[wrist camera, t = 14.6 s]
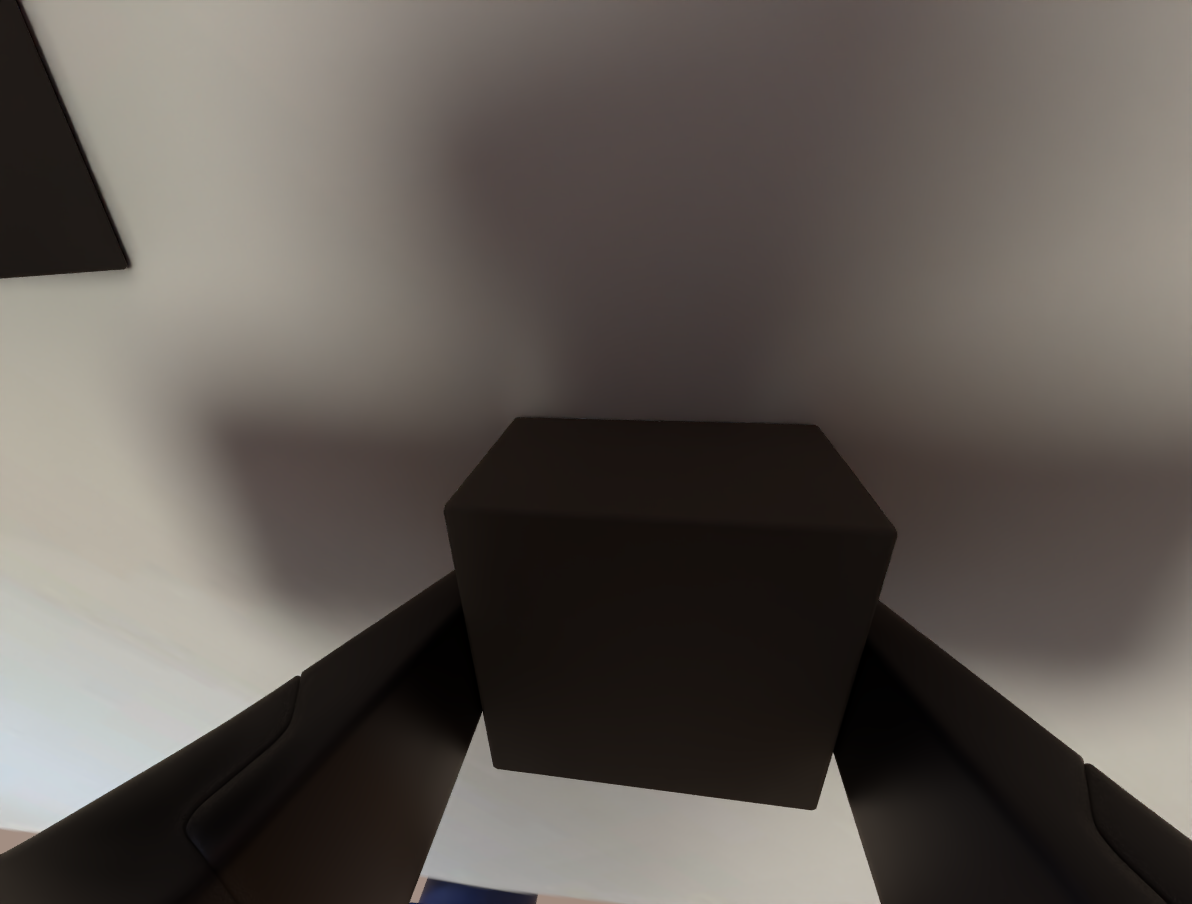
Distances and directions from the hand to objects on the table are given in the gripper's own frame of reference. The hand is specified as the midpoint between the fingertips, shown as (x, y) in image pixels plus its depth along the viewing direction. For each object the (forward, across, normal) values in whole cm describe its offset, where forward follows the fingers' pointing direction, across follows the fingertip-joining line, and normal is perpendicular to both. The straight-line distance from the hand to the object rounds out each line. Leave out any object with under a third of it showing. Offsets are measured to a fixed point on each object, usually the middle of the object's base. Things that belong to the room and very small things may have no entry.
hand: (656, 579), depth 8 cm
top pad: (+1, 0, 0) cm, 1 cm away
